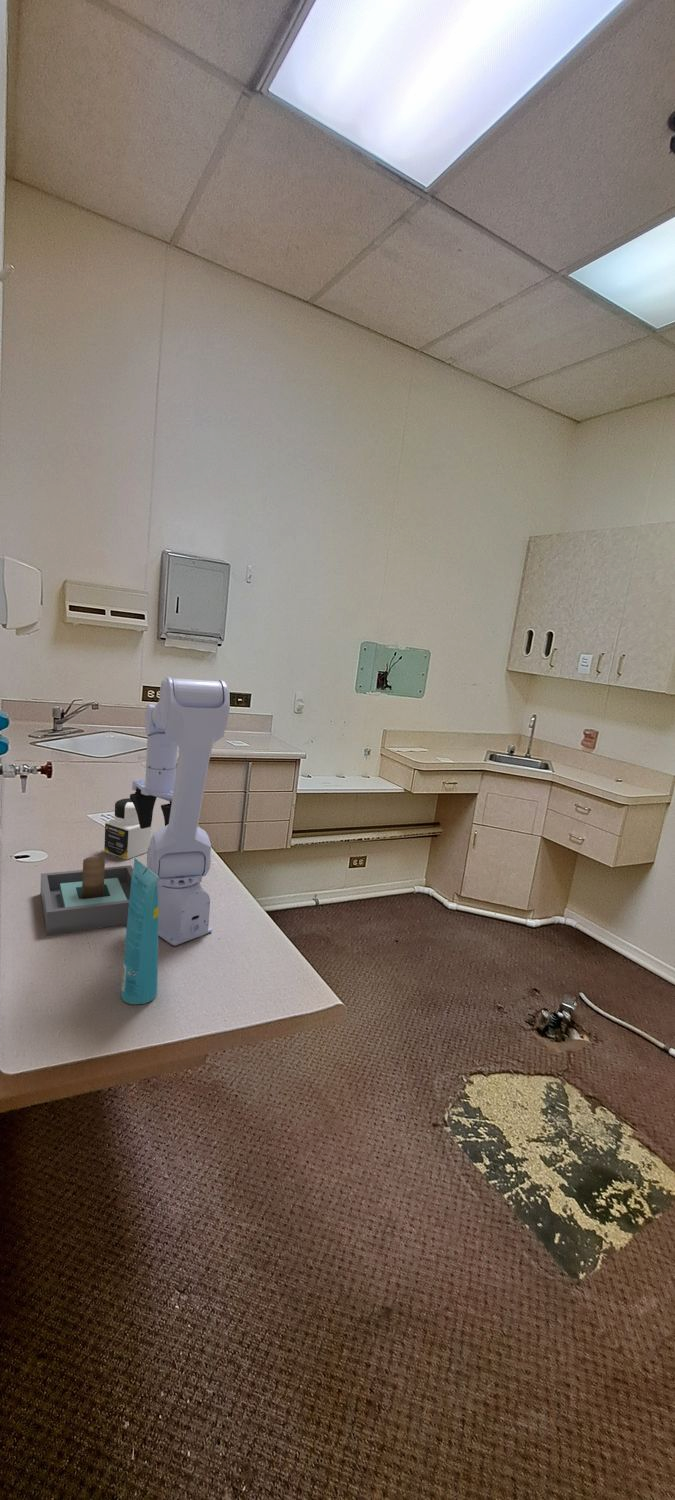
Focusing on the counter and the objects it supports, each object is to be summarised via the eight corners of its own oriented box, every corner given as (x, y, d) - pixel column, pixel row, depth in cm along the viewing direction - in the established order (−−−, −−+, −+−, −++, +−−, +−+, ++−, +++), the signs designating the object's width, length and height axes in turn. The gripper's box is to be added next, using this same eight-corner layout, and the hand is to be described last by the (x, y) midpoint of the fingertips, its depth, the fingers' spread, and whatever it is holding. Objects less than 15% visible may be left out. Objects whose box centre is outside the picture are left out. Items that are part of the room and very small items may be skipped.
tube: (167, 1001, 84) (175, 872, 81) (136, 1014, 81) (142, 881, 77) (141, 977, 89) (146, 855, 86) (109, 988, 86) (114, 862, 82)
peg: (105, 905, 107) (106, 863, 106) (83, 908, 106) (84, 865, 104) (101, 896, 110) (102, 855, 109) (80, 899, 109) (81, 857, 107)
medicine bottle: (103, 851, 134) (105, 800, 131) (128, 843, 140) (130, 794, 138) (126, 860, 131) (128, 807, 128) (150, 851, 137) (153, 801, 135)
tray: (147, 921, 106) (148, 900, 105) (46, 935, 98) (46, 912, 97) (130, 884, 119) (131, 865, 118) (40, 893, 111) (40, 873, 110)
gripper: (120, 761, 118) (117, 827, 120) (170, 777, 110) (166, 847, 113) (149, 757, 124) (146, 820, 126) (199, 772, 116) (194, 838, 118)
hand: (157, 832), depth 120 cm, fingers open, 7 cm apart
